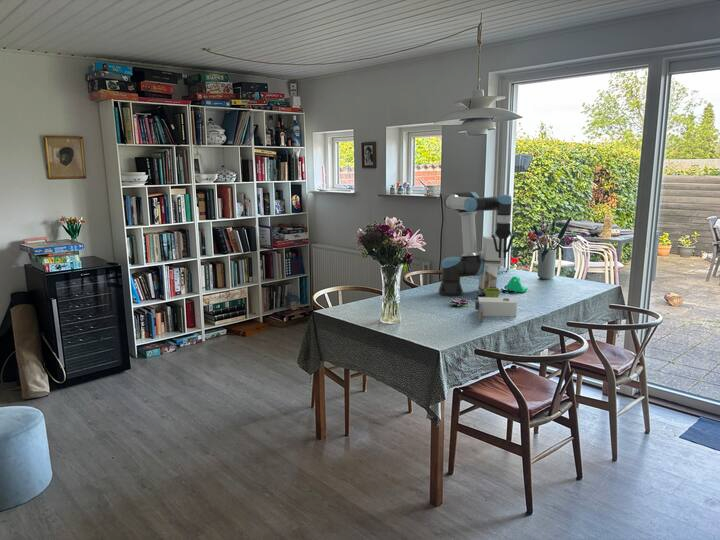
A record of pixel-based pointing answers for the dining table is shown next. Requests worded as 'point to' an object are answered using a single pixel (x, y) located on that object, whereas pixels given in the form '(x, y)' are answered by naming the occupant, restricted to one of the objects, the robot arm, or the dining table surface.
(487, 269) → the display case
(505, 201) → the robot arm
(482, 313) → the side door
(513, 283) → the camera mount
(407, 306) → the dining table surface
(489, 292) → the plant pot
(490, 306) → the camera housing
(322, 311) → the dining table surface
